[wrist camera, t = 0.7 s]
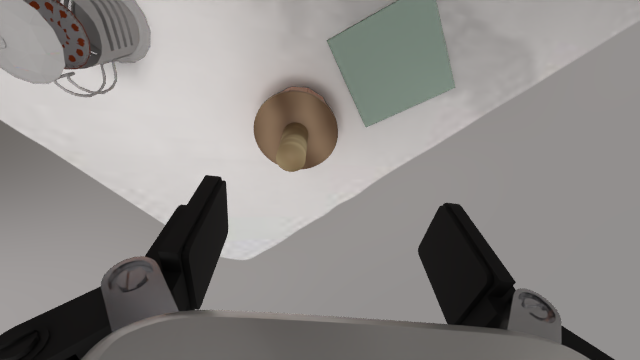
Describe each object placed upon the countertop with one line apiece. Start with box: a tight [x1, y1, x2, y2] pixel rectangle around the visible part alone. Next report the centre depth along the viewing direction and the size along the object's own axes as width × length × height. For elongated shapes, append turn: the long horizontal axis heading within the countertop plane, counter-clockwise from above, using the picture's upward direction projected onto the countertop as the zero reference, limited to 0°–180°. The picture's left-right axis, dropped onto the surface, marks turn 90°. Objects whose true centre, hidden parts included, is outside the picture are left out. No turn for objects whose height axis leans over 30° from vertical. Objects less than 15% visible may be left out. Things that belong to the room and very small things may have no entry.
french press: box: [0, 0, 150, 97], centre depth 26 cm, size 10×12×25 cm
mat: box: [327, 0, 455, 127], centre depth 38 cm, size 14×14×1 cm
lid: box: [254, 90, 338, 172], centre depth 36 cm, size 12×12×8 cm
